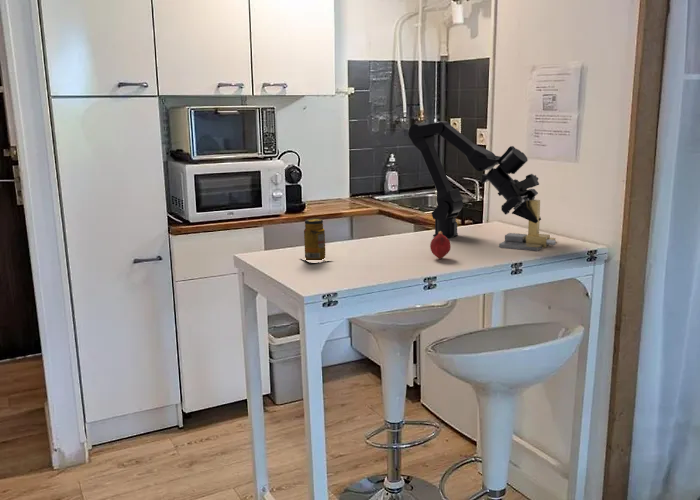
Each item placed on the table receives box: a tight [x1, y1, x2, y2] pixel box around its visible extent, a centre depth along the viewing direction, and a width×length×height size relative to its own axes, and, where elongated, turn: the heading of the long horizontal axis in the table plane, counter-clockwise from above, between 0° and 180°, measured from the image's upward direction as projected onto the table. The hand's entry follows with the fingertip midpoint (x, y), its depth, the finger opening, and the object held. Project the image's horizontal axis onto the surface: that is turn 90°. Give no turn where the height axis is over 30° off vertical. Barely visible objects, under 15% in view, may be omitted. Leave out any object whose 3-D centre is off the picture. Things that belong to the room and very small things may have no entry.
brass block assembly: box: [526, 199, 556, 249], centre depth 206 cm, size 12×11×14 cm
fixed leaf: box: [498, 232, 556, 252], centre depth 202 cm, size 15×9×3 cm, turn 58°
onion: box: [429, 231, 452, 260], centre depth 190 cm, size 6×6×8 cm
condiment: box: [303, 218, 326, 260], centre depth 193 cm, size 7×8×12 cm
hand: (538, 221), depth 202 cm, fingers closed on brass block assembly, 3 cm apart
